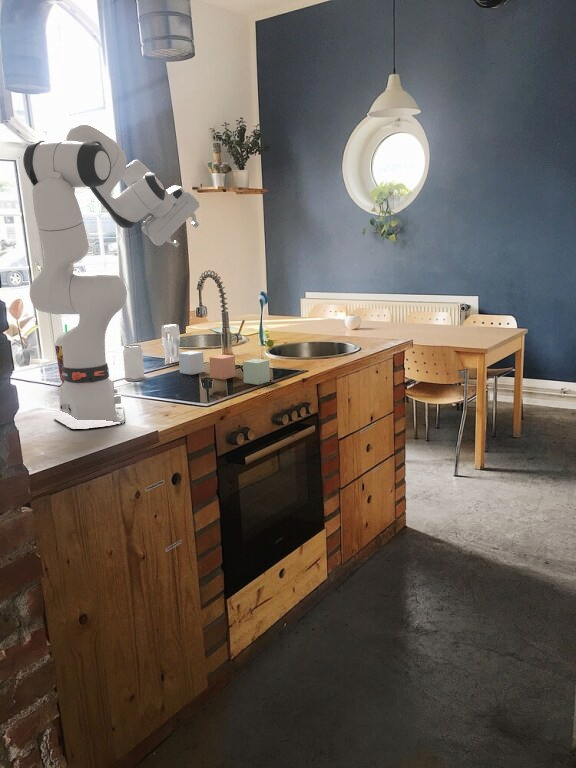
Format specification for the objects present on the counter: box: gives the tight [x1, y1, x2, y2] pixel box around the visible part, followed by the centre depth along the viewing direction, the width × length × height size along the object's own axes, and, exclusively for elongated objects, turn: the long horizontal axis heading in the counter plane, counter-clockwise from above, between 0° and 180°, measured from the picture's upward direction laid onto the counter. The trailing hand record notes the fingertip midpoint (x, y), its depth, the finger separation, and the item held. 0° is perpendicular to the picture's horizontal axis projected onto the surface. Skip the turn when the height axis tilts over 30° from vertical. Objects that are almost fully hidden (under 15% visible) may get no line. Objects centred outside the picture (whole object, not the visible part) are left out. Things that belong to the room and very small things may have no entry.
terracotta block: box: [209, 354, 236, 380], centre depth 223 cm, size 6×6×7 cm
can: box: [122, 344, 145, 383], centre depth 227 cm, size 6×6×12 cm
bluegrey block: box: [178, 350, 205, 376], centre depth 232 cm, size 6×6×7 cm
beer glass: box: [161, 323, 181, 365], centre depth 255 cm, size 7×7×15 cm
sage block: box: [242, 358, 271, 385], centre depth 214 cm, size 6×6×7 cm
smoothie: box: [54, 323, 68, 384], centre depth 224 cm, size 8×8×20 cm
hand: (187, 236), depth 223 cm, fingers open, 8 cm apart
